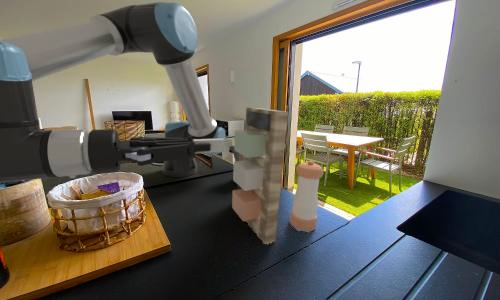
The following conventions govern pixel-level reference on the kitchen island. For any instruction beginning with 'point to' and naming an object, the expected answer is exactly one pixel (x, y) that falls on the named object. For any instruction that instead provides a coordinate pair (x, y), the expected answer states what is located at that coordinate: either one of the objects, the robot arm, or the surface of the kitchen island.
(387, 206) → the kitchen island surface
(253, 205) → the block
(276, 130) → the keypad panel
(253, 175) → the key middle
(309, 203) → the salt shaker
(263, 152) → the key top
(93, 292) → the kitchen island surface
